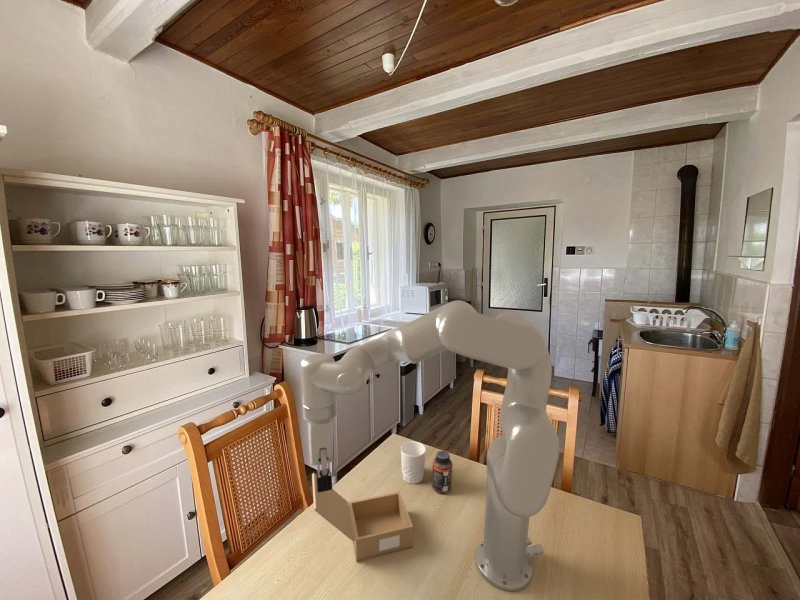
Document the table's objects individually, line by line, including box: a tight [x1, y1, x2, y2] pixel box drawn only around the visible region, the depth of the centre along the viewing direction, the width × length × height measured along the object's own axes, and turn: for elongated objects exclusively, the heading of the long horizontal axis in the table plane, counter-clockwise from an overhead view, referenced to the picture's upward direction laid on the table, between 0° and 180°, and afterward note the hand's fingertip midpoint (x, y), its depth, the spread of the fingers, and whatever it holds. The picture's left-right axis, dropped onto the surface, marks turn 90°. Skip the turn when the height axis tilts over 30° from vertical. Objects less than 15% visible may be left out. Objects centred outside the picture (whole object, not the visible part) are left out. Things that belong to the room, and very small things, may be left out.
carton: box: [348, 491, 414, 563], centre depth 87 cm, size 14×12×6 cm
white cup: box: [400, 440, 427, 485], centre depth 108 cm, size 8×8×10 cm
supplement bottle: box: [431, 450, 453, 495], centre depth 103 cm, size 6×6×11 cm
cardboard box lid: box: [311, 472, 355, 543], centre depth 82 cm, size 14×12×1 cm
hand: (323, 475), depth 80 cm, fingers open, 9 cm apart
